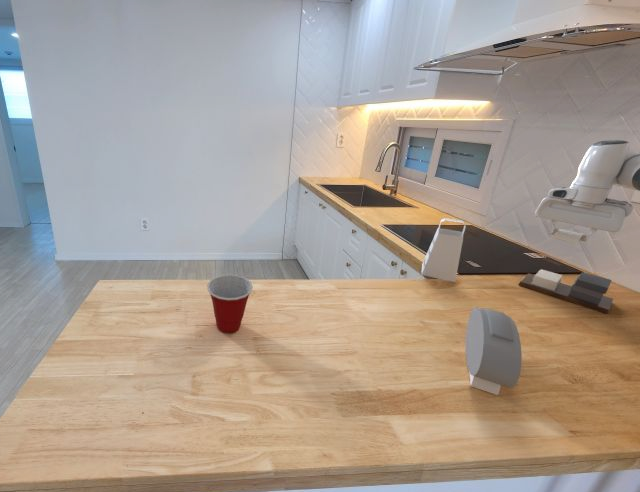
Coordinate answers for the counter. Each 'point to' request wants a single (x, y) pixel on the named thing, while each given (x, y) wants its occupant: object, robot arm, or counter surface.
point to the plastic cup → (229, 300)
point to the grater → (444, 253)
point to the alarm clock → (492, 350)
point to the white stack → (547, 279)
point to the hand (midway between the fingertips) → (567, 237)
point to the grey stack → (589, 288)
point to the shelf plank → (566, 294)
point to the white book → (568, 236)
